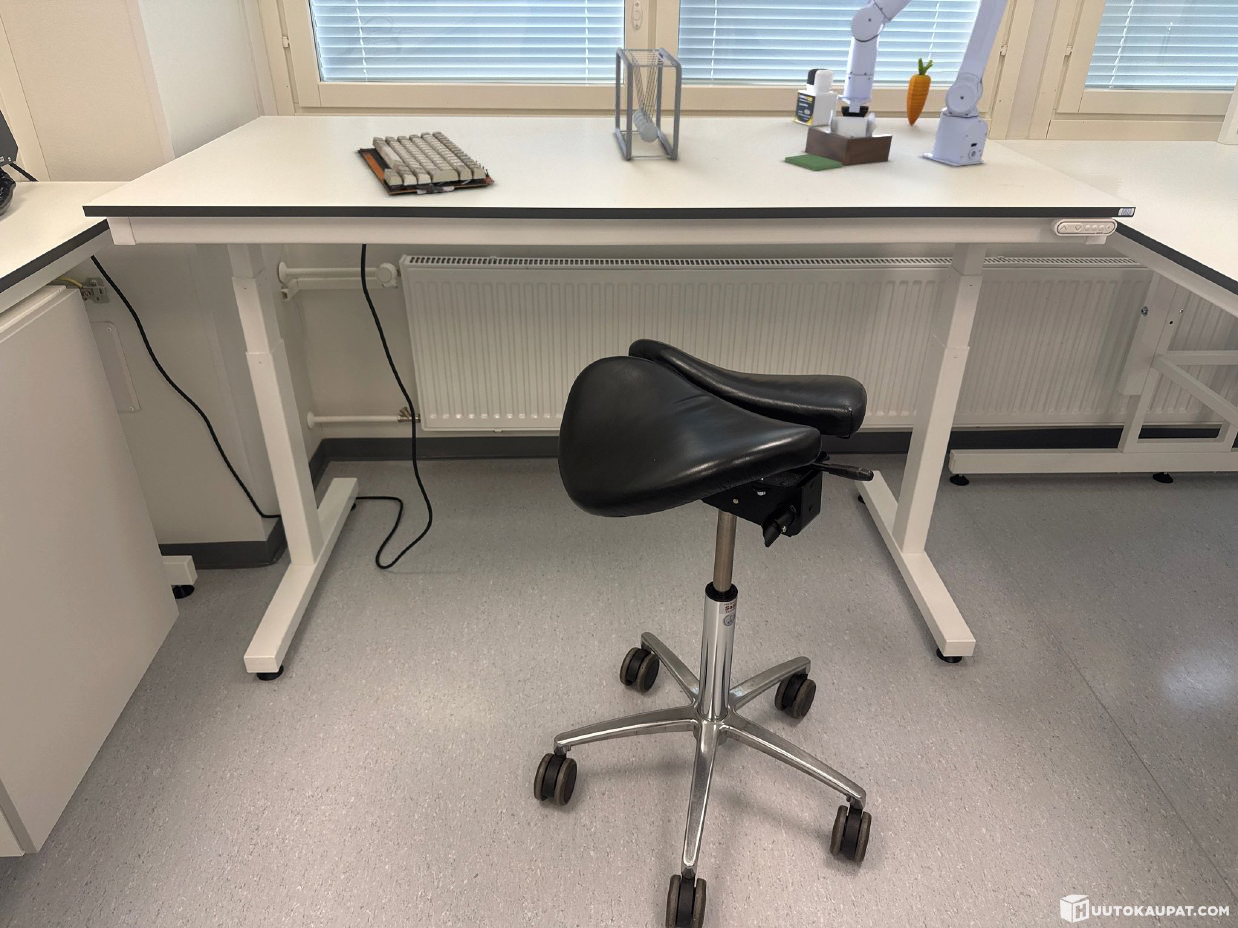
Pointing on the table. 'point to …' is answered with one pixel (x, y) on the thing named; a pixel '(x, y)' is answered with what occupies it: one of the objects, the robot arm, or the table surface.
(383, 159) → the mechanical keyboard
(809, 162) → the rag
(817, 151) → the corner fence
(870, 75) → the robot arm
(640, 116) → the newton's cradle
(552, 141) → the table surface
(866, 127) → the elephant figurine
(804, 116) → the medicine bottle
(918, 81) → the carrot
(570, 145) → the table surface
